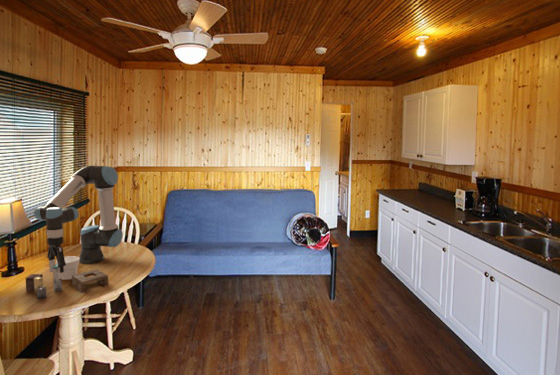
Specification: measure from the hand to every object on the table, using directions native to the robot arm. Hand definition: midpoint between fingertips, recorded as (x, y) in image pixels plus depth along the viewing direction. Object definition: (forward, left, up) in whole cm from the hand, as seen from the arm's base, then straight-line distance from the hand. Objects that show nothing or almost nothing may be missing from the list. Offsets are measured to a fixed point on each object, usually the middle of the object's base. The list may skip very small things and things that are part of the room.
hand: (56, 274), depth 206 cm
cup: (-16, +11, -9) cm, 22 cm away
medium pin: (-4, -8, -9) cm, 13 cm away
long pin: (0, 0, -9) cm, 9 cm away
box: (-11, -8, -9) cm, 16 cm away
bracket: (+5, +15, -9) cm, 18 cm away
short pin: (+4, -9, -9) cm, 13 cm away
